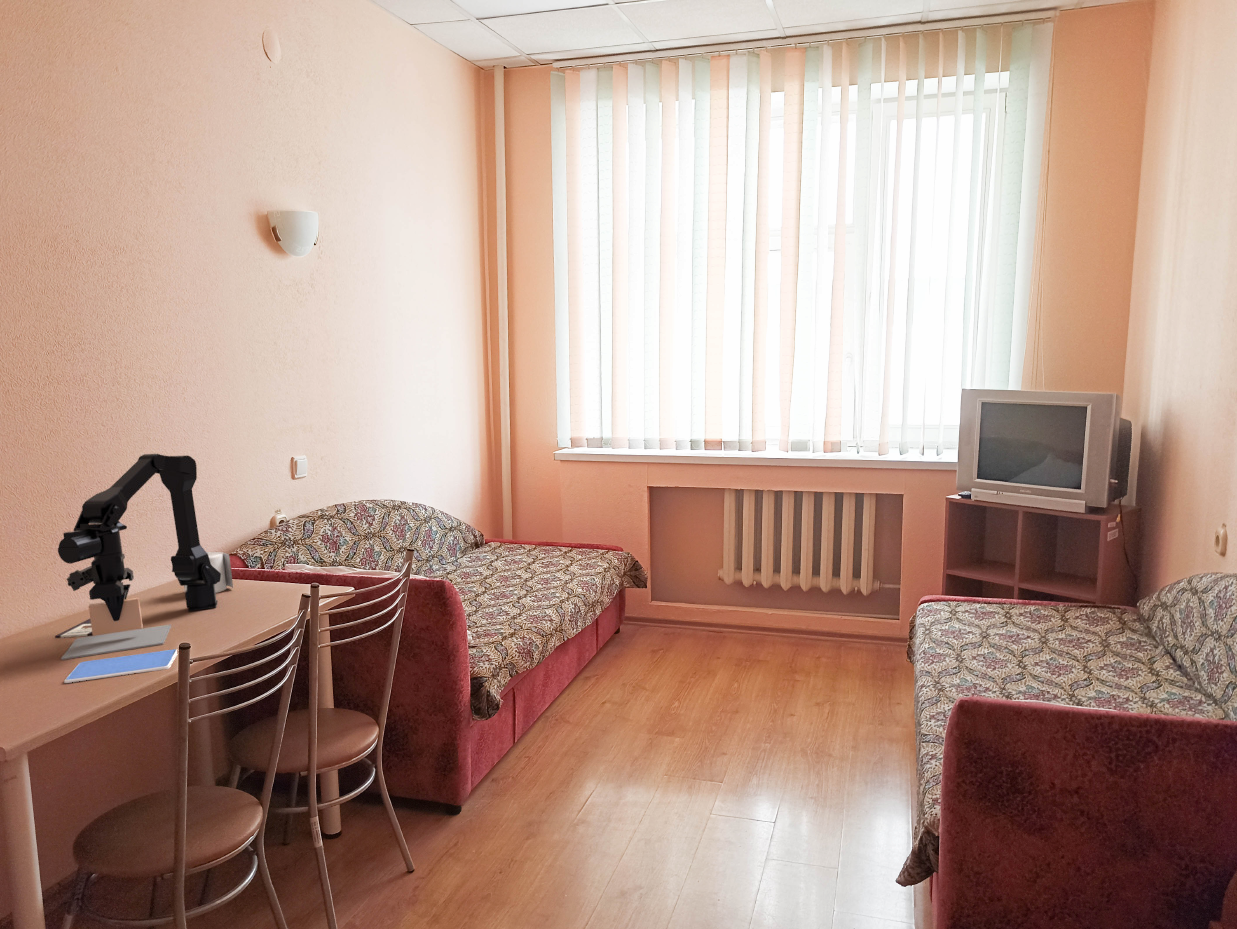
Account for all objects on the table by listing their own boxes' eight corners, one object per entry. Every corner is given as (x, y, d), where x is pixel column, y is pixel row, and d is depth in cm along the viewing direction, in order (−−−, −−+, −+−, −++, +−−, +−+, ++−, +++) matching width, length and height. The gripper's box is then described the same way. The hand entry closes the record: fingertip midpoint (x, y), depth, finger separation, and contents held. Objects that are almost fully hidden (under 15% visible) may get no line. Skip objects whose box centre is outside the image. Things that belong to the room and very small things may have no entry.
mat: (171, 625, 218) (171, 624, 218) (163, 644, 203) (163, 642, 203) (76, 640, 212) (76, 638, 212) (61, 660, 197) (61, 658, 197)
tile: (142, 626, 211) (138, 597, 210) (141, 628, 209) (137, 599, 208) (94, 634, 207) (89, 604, 206) (92, 636, 206) (88, 606, 205)
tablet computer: (179, 653, 198) (179, 647, 198) (169, 671, 186) (168, 665, 186) (80, 667, 192) (79, 661, 192) (63, 687, 180) (62, 680, 180)
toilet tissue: (184, 591, 254) (179, 556, 253) (230, 583, 260) (226, 549, 258) (186, 599, 245) (181, 562, 243) (233, 590, 250) (229, 555, 249)
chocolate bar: (133, 611, 232) (92, 633, 214) (133, 615, 232) (93, 637, 215) (98, 614, 232) (54, 635, 215) (98, 617, 233) (55, 639, 215)
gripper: (76, 550, 212) (85, 615, 214) (57, 566, 195) (68, 636, 197) (129, 543, 216) (138, 607, 218) (116, 558, 198) (125, 628, 200)
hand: (117, 619), depth 208 cm, fingers closed on tile, 2 cm apart
